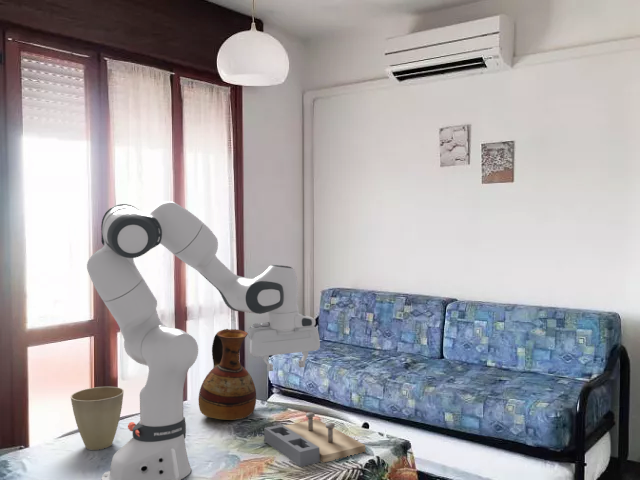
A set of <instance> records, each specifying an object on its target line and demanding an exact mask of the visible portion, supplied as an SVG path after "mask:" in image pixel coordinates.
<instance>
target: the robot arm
mask: <svg viewBox="0 0 640 480" xmlns="http://www.w3.org/2000/svg"><path fill="white" fill-rule="evenodd" d="M100 227H101V229H100V230H101V243H102V245H103V246H102V247H101V248H100V249H98V250H96V251H95V252H94V253H93V254H91V256H90V257H89V259H88V261H87V263H86V269H87V273H88V276H89V278H90V280H91V282H92V284H93V287H94V289H95V290H96V292H97V294H98V295H99V297H100V299H101V300H102V301H103V303H104V305H105V306H106V308H107V310H109V313H110V314H111V316H112V317H113V318H114V320H115V322H116V323H117V325H118V327H119V329H120V333H121V335H122V336H123V339H124V342H123V348H124V351H125V353H126V354H127V355H128V356H129V357H130V359H132V360H133V361H134V362H136V363H138V364H140V365H143V366H147V367H148V374H147V378H146V383H145V385H144V386H143V388H142V389H141V390H140V392H139V418H140V419H139V420H140V421H138V422H137V423H135V422H133V421H130V422H129V423H128V424H127V429H128V430H129V431H130V432H132V438H130V440H128V441H127V442H126V443H125V444H124V445H123V446H122V447H120V449H118V450H116V452H115V453H114V454H113V455H112V458H111V463H110V470H108V471H105V472H104V473H103V474H102V476H101V478H100V479H101V480H182V479H184V478H185V477H187V476H188V475H190V473H191V472H192V468H191V464H190V461H189V457H188V452H187V448H186V447H187V446H186V437H187V436H186V434H187V423H186V417H185V416H184V390H185V389H184V387H185V382H186V378H187V374H188V371H189V369H190V368H192V367H193V365H194V364H195V363H196V361H197V359H198V354H199V345H198V343H197V340H196V339H195V338H194V336H192V335H191V334H190V333H188V332H187V331H184V330H182V329H180V328H175V327H171V326H166V325H165V324H164V323H163V322H162V321H161V320H160V317H159V314H158V310H157V306H158V301H157V300H158V299H156V297H155V295H154V293H153V292H152V290H151V288H150V286H149V285H148V283H147V282H146V280H145V279H144V277H143V276H142V274H141V272H140V270H138V267H137V266H136V264H135V261H134V258H135V259H136V258H139V257H141V256H143V255H145V254H147V253H148V252H149V251H151V250H152V249H154V248H155V247H157V246H159V245H162V246H163V247H164V248H165V249H167V250H168V251H169V252H170V253H172V255H174V256H175V257H176V258H178V259H179V260H181V261H182V262H183V263H185V264H186V265H188V266H190V267H191V268H193V269H194V270H195V271H197V272H198V273H199V274H200V275H202V277H204V279H206V280H207V281H208V282H209V283H210V284H211V285H212V286H213V287H215V289H216V290H217V291H218V292H219V294H220V295H221V298H222V300H223V302H224V304H225V305H226V307H228V308H229V309H230V310H232V311H235V312H242V313H243V312H244V313H249V314H254V315H262V314H266V313H267V316H268V322H261V323H254V324H253V325H251V326H250V327H249V328H248V332H247V333H248V338H249V353H250V355H251V356H252V357H253V358H259V357H261V358H262V360H263V362H264V363H265V364H266V371H267V372H272V371H274V364H273V363H269V361H268V360H269V359H270V357H269V356H277V355H284V354H285V355H286V354H294V353H301V354H302V357H301V359H299V360H297V361H298V367H299V368H305V367H306V360H307V358H308V356H309V352H313V351H318V350H319V349H320V347H321V341H320V340H321V339H320V335H319V331H318V328H317V326H316V322H317V321H316V319H315V318H313V317H312V316H309V315H307V314H303V313H300V308H299V305H298V298H299V287H298V277H297V273H296V270H295V269H294V268H293V267H292V266H288V265H279V264H271V265H269V266H268V267H267V269H266V270H265V271H264V272H262V273H260V275H257V276H255V277H254V278H249V277H244V276H242V275H237V274H235V273H234V272H232V271H231V270H230V269H229V268H228V267H227V266H226V265H225V264H224V263H223V262H222V261H221V260H220V259H219V258H218V257H217V252H218V249H219V248H218V247H219V241H218V237H217V236H216V235H215V234H214V232H213V231H212V230H211V229H210V228H209V226H207V224H205V223H204V222H203V221H202V220H201V219H199V218H198V217H197V216H196V215H195V214H193V212H192V211H191V212H190V211H189V210H188V209H186V208H184V207H183V206H182V205H180V204H178V203H177V202H174V201H171V200H168V201H163V202H160V203H159V204H157V205H155V207H154V208H153V209H152V210H151V211H148V212H142V211H140V209H138V208H137V207H135V206H134V205H131V204H127V203H123V204H121V203H119V204H116V205H113V206H111V207H110V208H108V209H107V210H106V212H105V213H104V215H103V216H102V220H101V225H100ZM315 326H316V327H315Z"/></svg>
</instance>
